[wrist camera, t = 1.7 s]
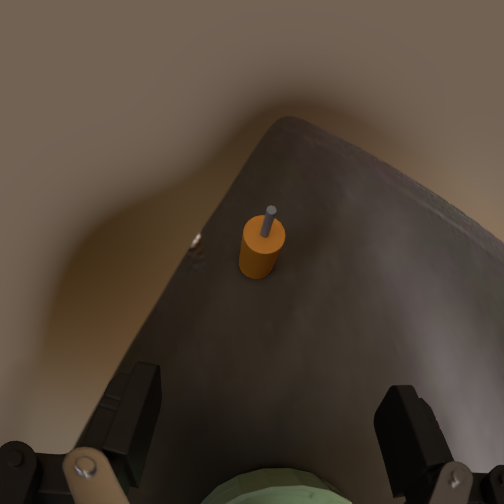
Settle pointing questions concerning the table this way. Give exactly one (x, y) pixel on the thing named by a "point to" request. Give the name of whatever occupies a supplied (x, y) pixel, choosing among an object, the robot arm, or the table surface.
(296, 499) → the green round bowl
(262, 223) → the screwdriver
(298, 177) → the table surface
